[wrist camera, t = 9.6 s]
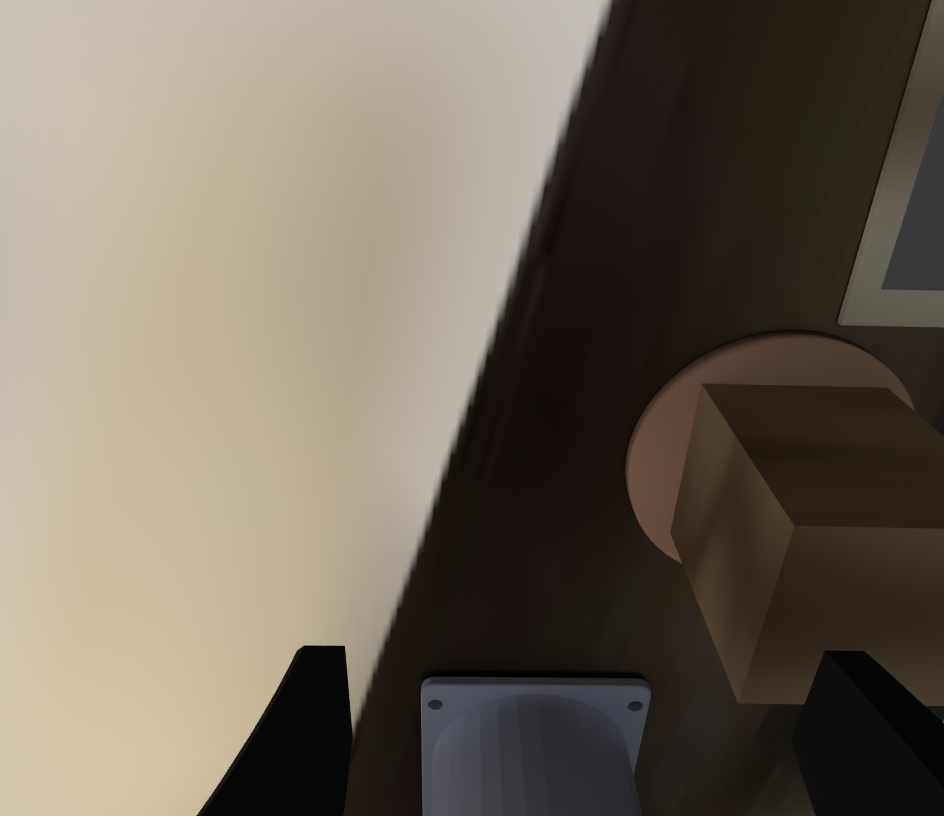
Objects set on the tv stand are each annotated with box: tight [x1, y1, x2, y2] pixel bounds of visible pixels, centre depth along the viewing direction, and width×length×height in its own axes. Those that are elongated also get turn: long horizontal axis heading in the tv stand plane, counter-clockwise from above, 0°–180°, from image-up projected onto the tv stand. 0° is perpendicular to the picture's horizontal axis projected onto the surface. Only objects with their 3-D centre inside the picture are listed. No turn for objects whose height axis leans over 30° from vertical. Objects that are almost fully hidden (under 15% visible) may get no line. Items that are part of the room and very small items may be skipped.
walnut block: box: [670, 383, 944, 706], centre depth 17 cm, size 5×5×6 cm
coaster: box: [625, 330, 915, 563], centre depth 20 cm, size 8×8×1 cm
